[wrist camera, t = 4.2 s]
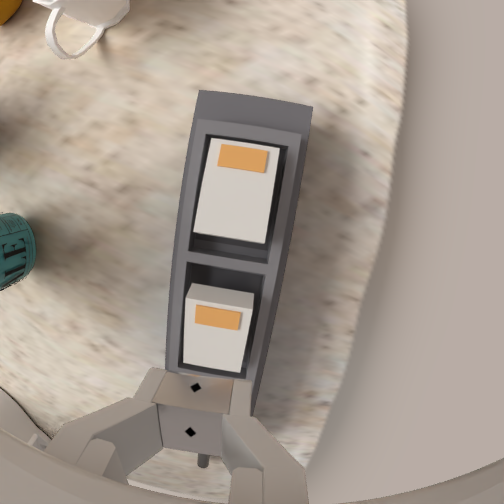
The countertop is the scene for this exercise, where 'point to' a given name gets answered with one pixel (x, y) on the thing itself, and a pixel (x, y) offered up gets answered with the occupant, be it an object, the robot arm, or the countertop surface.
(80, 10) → the cup
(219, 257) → the rocker switch panel
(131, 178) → the countertop surface
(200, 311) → the rocker
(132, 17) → the countertop surface
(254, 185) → the rocker
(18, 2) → the apple
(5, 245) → the beverage bottle
